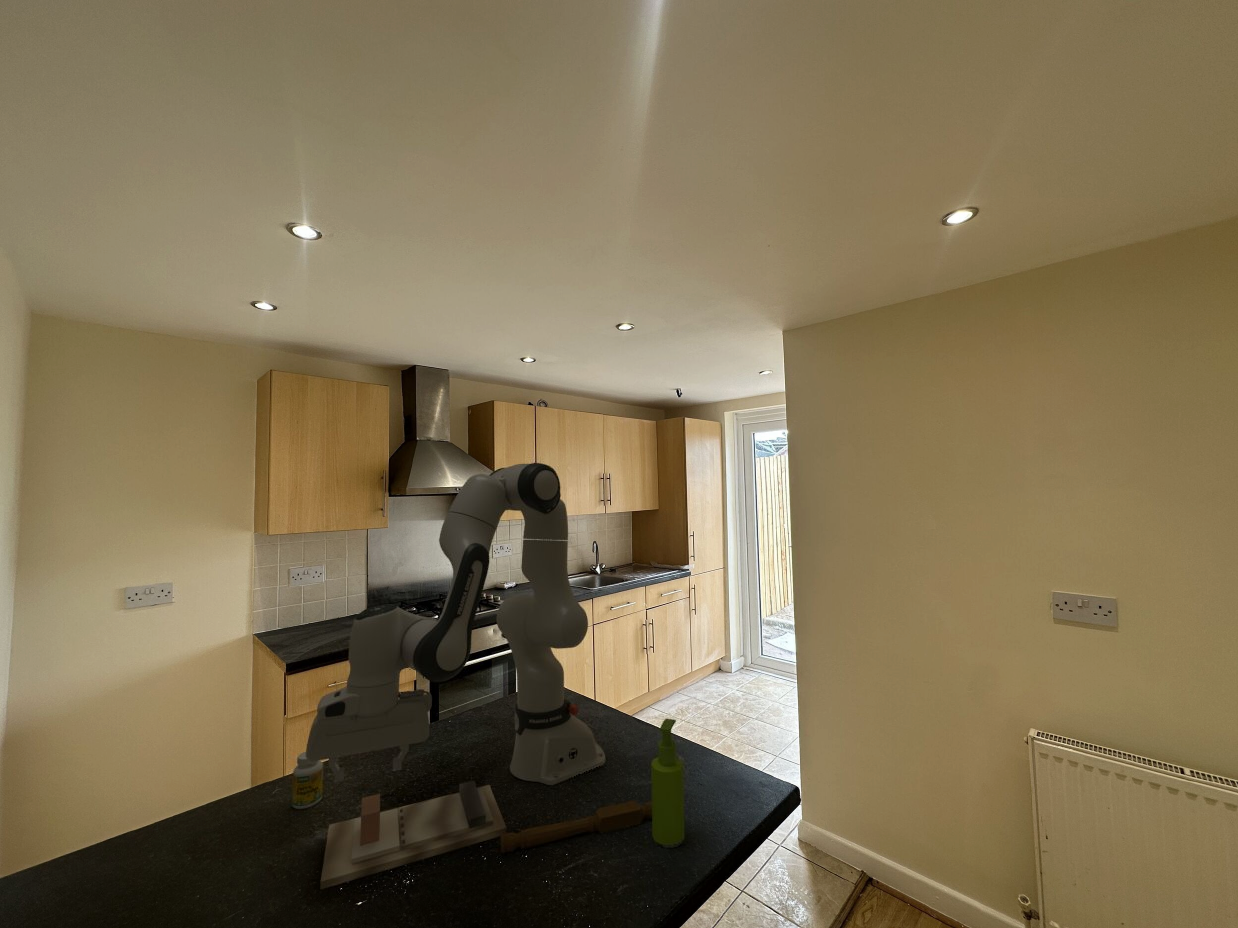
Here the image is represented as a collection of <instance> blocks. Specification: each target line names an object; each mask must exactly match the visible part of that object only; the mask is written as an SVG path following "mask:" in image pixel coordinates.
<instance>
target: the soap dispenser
mask: <svg viewBox="0 0 1238 928" xmlns="http://www.w3.org/2000/svg"><path fill="white" fill-rule="evenodd" d="M676 721H677V720H676V719H674V718H665V719H664V720H663V721H662V724H661V726H660V728H659V732H660V733H661V740H659V741H658V742H657V757H655V758H653V760H652V761H651V763H650V765H651V766H650V767H651V769H650V770H651V802H652V821H651V823H652V824H651V827H652V829H651V830H652V831H651V832H652V833H651V835H652V836H653V838H654V840H655V841H656V842H658V843H660V844H663V845H674V844H678V843H679V842H681V841H682V840H683V839H684V840H685V803H684V802H685V800H684V799H685V798H684V764H683V761H682V760H681V759H679V758H678V757H677V745H676V742H675V741H673V740H672V729H673V727H674V725H675V724H676ZM653 838H652V839H653Z"/></svg>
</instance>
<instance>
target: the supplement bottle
mask: <svg viewBox="0 0 1238 928" xmlns="http://www.w3.org/2000/svg"><path fill="white" fill-rule="evenodd" d="M296 763H297V765H296V766H295V768H293V771H292V794H291V797H292V799H291V800H292V801H291V806H292V807H293V808H294V809H296V810H302V809H303V810H304V809H308V808H310V807H314V806H315V805H317V804H318V803H319V802H320V801H321V800H322V798H323V783H324V782H323V780H324V779H323V778H324V777H323V775H324V763H323V761H322V760H319V761H314V762H310V761H309V760H308V759H307V758H306V751H304V752H301V753H300V754H298V756H297V759H296Z"/></svg>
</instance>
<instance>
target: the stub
mask: <svg viewBox="0 0 1238 928" xmlns="http://www.w3.org/2000/svg"><path fill="white" fill-rule="evenodd" d="M392 809H393V810H390V809H388V810H389V811H386V810H384V811H385V812H382V811H381V794H380V793H377V794H373V795H370V796H366V797H362V798H361V809H360V811H361V813H360V817H361V818H358V817H356V818H357V819H355V821H354V834H353V847H352V863H351V864H354V863H357V862H361V861H364V860H368V859H371V858H375V857H378V856H382V855H385V854H389V853H392V852H396V851H399V830H398V814H397V809H394V808H392ZM380 812H381V813H380Z"/></svg>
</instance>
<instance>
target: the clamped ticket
mask: <svg viewBox="0 0 1238 928" xmlns="http://www.w3.org/2000/svg"><path fill="white" fill-rule="evenodd" d="M475 782H476V781H475V780H472V781H467V782H464V783H463V782H462V783H459V785H458V786H459V787H458V792H456V793H451V794H447V795H442V796H439V797H436V798H432V799H427V800H424V801H420V802H416V803H412V804H408V805H403V806H399V807H395V808H391V809H387V810H382V811H380V813H381V812H385V811H389V810H393V809H397V814H398V830H399V851H396V852H392V853H389V854H385V855H382V856H378V857H375V858H371V859H368V860H364V861H361V862H357V863H354V864H351V863H352V847H353V834H354V821H355V819H357V818H361V816H359V817H355V818H351V819H348V820H343V821H339V822H335V823H331V824H329V825H328V831H327V837H326V844H325V849H324V850H325V851H324V856H323V865H322V870H321V877H320V888H319V889H320V890H324V889H327V888H330V887H331V888H332V887H334V886H337V885H341V884H343V883H344V884H345V883H347V882H351V881H354V880H357V879H360V878H364V877H368V876H371V875H374V874H378V873H381V872H384V871H387V870H391V869H394V868H399V867H401V866H404V865H408V864H411V863H414V862H418V861H421V860H424V859H428V858H431V857H434V856H439V855H442V854H445V853H448V852H451V851H452V852H453V851H455V850H458V849H462V848H464V847H469V846H472V845H474V844H475V845H476V844H479V843H481V842H484V841H485V842H486V841H489V840H492V839H496V838H499V837H501V835H502V834H505V835H506V834H507V826H506V823H505V821H504V818H503V815H502V814H501V811H500V809H499V805H498V803H497V801H496V799H495V795H494V793H493V791H492V788H491V785H490V784H487V785H483V786H480V787H479V786H478V787H477V785H476V783H475Z"/></svg>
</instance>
